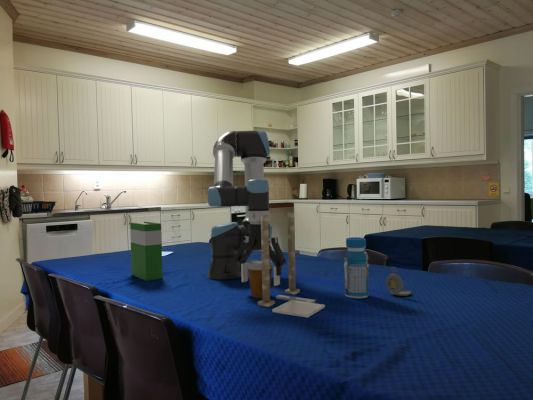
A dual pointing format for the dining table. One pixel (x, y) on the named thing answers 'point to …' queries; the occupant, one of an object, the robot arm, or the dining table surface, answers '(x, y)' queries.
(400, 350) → the dining table surface
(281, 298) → the guide strip
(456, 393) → the dining table surface
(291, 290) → the gate posts
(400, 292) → the pocket watch
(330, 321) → the dining table surface
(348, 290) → the beverage bottle
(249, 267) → the disposable coffee cup
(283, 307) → the tile
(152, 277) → the hardback book
